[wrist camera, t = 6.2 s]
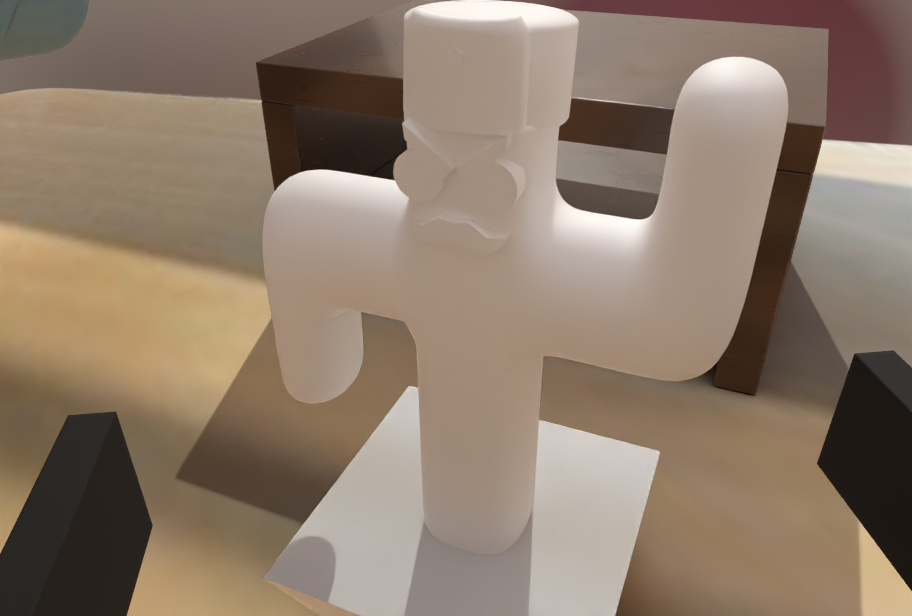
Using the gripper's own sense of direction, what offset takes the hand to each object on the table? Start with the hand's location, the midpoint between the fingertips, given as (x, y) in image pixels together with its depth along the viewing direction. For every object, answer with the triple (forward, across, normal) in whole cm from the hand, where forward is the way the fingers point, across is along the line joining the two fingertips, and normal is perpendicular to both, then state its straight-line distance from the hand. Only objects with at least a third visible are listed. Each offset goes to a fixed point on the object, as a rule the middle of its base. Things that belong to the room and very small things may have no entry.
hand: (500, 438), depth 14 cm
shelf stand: (+21, +6, -8) cm, 23 cm away
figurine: (+2, 0, -8) cm, 8 cm away
